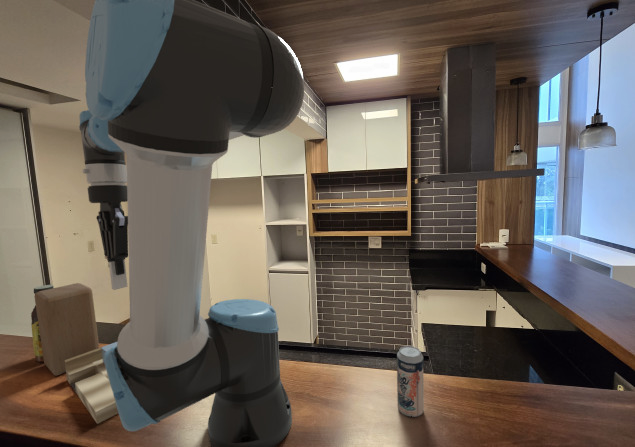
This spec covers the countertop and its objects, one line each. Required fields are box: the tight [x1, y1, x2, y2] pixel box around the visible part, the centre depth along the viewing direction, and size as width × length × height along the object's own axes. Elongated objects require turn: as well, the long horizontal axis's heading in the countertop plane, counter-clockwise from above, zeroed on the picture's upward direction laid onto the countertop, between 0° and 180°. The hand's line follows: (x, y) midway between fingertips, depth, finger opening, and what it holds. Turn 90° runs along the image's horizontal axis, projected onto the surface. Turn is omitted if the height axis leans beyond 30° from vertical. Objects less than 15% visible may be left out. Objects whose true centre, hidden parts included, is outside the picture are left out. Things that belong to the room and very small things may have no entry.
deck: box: [64, 347, 119, 425], centre depth 71 cm, size 23×12×5 cm, turn 50°
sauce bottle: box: [30, 284, 54, 363], centre depth 84 cm, size 7×6×20 cm
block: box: [33, 282, 100, 376], centre depth 81 cm, size 10×10×20 cm
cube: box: [100, 341, 118, 364], centre depth 76 cm, size 4×4×4 cm
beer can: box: [396, 345, 424, 418], centre depth 59 cm, size 5×5×12 cm
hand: (119, 287), depth 71 cm, fingers closed
